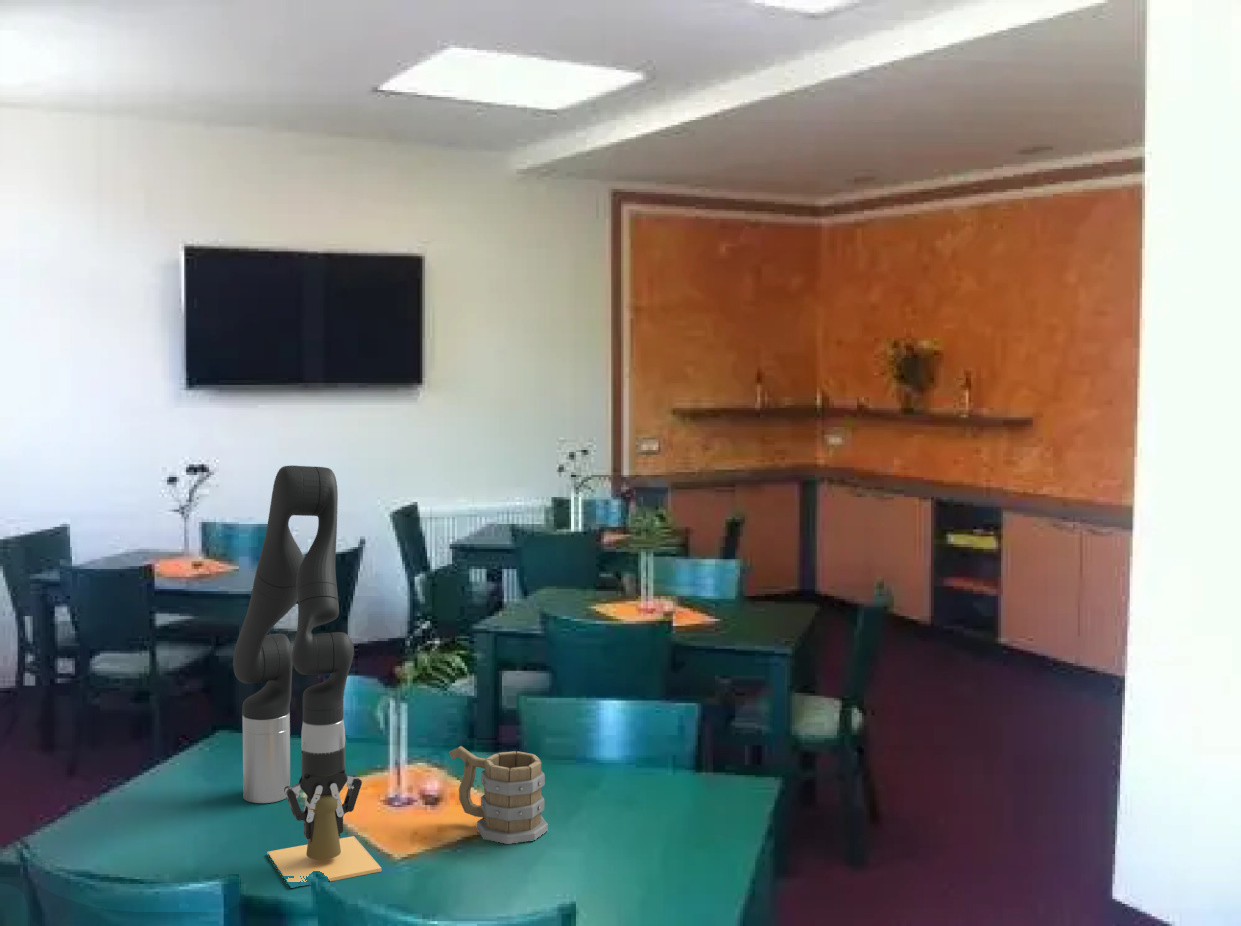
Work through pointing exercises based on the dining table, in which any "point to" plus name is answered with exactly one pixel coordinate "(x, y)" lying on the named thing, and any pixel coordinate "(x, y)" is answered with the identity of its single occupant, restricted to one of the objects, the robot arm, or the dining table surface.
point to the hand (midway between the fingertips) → (323, 837)
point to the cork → (324, 830)
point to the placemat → (326, 862)
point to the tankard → (505, 795)
